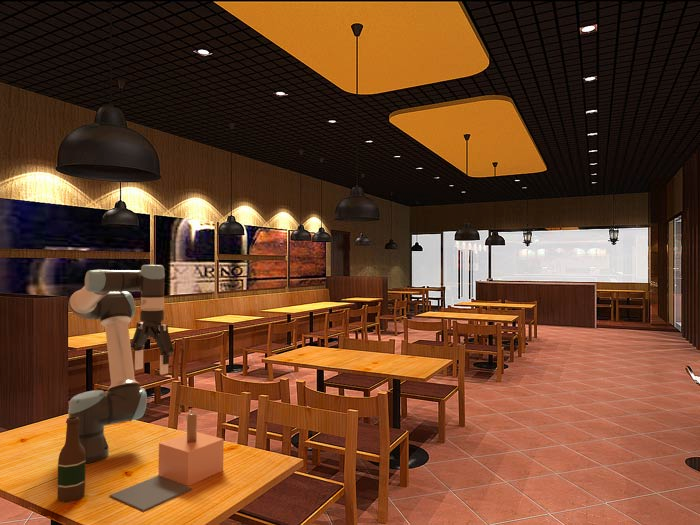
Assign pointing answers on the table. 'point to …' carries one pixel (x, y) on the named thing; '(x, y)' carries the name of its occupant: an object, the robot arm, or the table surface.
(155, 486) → the mat
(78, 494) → the beer bottle
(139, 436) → the table surface
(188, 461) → the pink box with peg
